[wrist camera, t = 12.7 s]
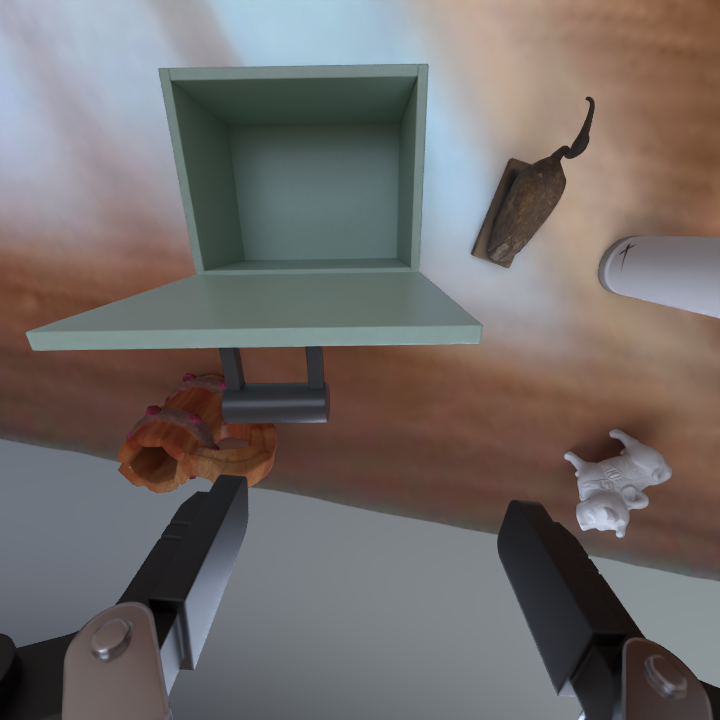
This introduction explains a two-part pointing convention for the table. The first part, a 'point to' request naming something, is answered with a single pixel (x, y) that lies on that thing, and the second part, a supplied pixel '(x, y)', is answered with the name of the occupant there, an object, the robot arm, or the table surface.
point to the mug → (194, 440)
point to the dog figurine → (617, 484)
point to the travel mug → (666, 271)
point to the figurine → (525, 201)
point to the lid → (271, 328)
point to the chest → (300, 166)
